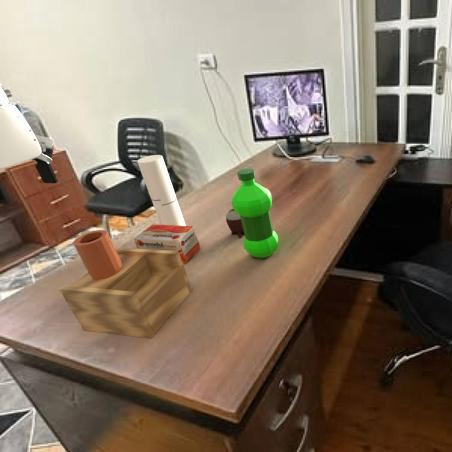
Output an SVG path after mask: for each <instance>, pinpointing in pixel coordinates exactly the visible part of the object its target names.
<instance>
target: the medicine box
mask: <svg viewBox="0 0 452 452" xmlns="http://www.w3.org/2000/svg"><path fill="white" fill-rule="evenodd" d="M133 240H134V243H135V246H136V249H151V250H169V251H178V252H179V255H180V257H181V260H182V263H183V264H187V263H188V262H189V261H190V260H191V259H192V258H193V257H194V256H195V255H196V254H197V253H198V252H199V251H200V250H201V246H200V245H201V244H200V242H199V238H198V236H197V234H196V231H195V228H194V226H193V225H186V226H177V225H161V224H151V225H149V226H148V227H147V228H145V229H144V230H143V231H142V232H140V233H139V234H138V235H136V236H135V237H133Z"/></svg>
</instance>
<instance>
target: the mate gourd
mask: <svg viewBox="0 0 452 452" xmlns="http://www.w3.org/2000/svg"><path fill="white" fill-rule="evenodd" d="M225 221H226V222H225V223H226V225H227V226H228V229H229V230H230V234H231V235H232V236H234V235H238V239H241V238H242V237H243V234H244V230H243V226H242V222H241V218H240V215H239V214H238V213H236V212H235V211H234V209H233V208H230V209H229V210H228V211H227V213H226V215H225Z"/></svg>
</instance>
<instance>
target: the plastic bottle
mask: <svg viewBox="0 0 452 452" xmlns="http://www.w3.org/2000/svg"><path fill="white" fill-rule="evenodd" d="M255 171H256V170H255V169H254V168H243V169H240V170H238V171H237V177H238V180H239V181H240V182H241V185H240V186H239V187H238V188H237V190H236V191H235V192H234V193H233V196H232V199H231V207H232V209H234V211H235V212H236V213H238V214H239V215H240V218H241V222H242V226H243V230H244V233H243V234H244V240H243V248H244V251H246V252H247V254H249V255H250V256H252V257H254V258H257V259H265V258H268V257H270V256H271V255H272V254H273V253H275V252H276V250H277V248H278V246H279V235H278V234H277V232H276V231H275V230H274V227H273V222H272V215H271V212H270V210H271V208H272V205H273V196H272V193H271V191H270V189H268V188H266V187H264V186H262V185H261V184H259V183H257V182H255V178H256V177H257V176H256V172H255Z"/></svg>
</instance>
